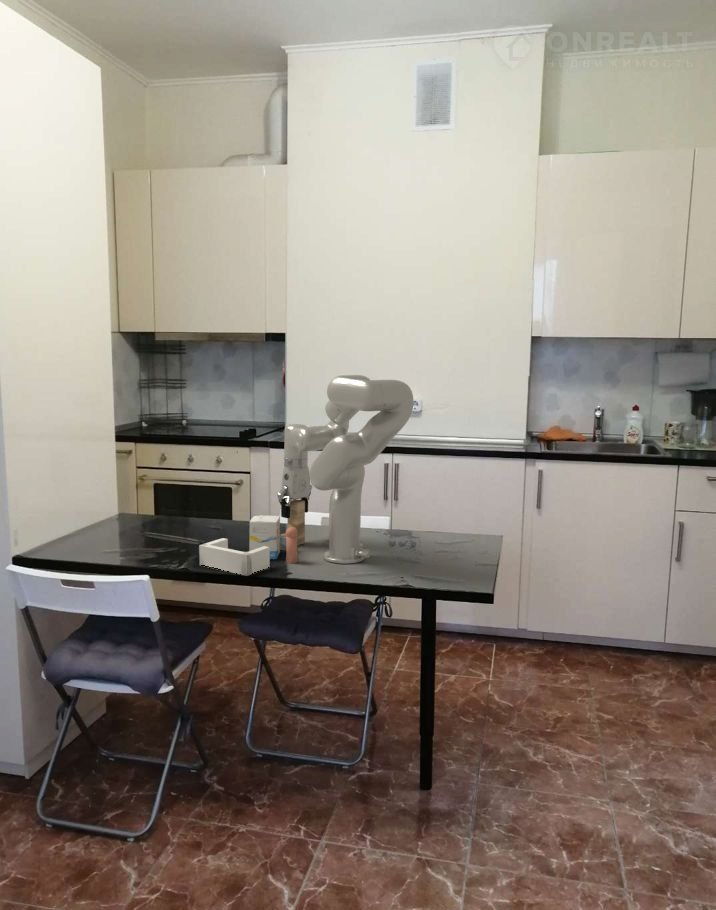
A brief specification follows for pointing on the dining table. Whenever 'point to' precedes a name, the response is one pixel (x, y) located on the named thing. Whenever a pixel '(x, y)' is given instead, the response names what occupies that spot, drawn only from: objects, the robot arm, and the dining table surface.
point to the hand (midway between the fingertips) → (294, 514)
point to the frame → (233, 557)
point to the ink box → (265, 534)
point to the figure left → (291, 545)
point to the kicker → (295, 522)
